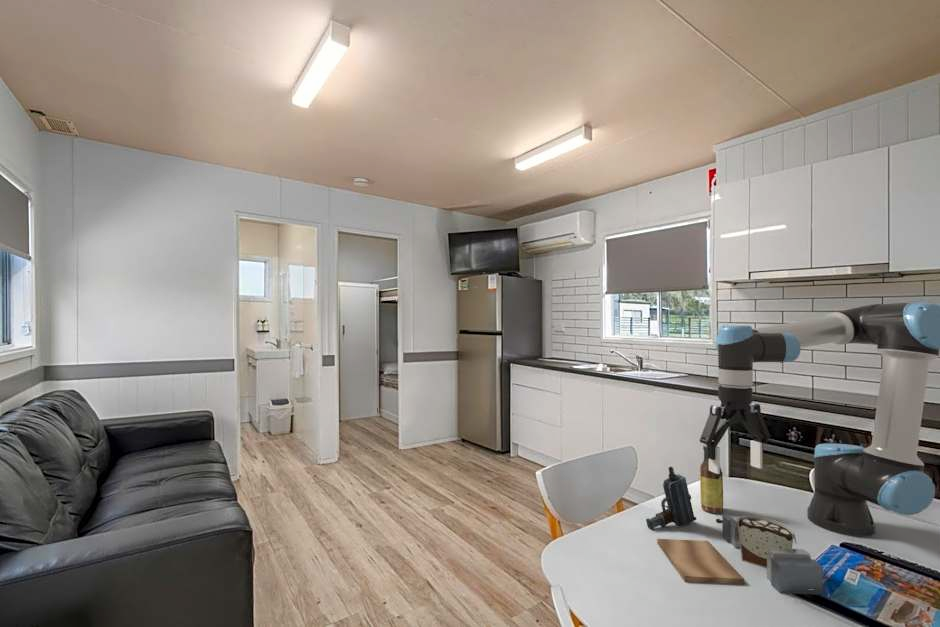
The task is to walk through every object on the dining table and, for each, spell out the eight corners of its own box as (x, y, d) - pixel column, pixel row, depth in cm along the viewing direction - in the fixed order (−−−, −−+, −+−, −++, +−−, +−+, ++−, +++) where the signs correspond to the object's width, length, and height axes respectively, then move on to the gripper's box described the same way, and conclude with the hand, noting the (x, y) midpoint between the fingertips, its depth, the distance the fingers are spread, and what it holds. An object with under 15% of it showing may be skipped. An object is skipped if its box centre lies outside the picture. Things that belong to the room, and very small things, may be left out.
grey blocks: (748, 531, 123) (748, 506, 123) (823, 594, 95) (823, 562, 95) (715, 530, 124) (714, 505, 124) (779, 592, 95) (779, 560, 95)
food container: (799, 567, 105) (799, 525, 105) (796, 578, 101) (796, 534, 101) (740, 549, 114) (740, 510, 114) (735, 558, 109) (735, 517, 109)
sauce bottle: (727, 514, 134) (727, 449, 134) (707, 514, 134) (707, 449, 134) (715, 505, 140) (715, 443, 141) (696, 505, 140) (696, 443, 141)
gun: (635, 479, 125) (677, 461, 129) (648, 534, 126) (690, 515, 130) (641, 482, 122) (684, 464, 126) (655, 539, 123) (697, 519, 127)
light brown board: (707, 545, 115) (707, 540, 115) (744, 584, 98) (744, 578, 98) (657, 543, 116) (657, 538, 116) (684, 581, 99) (684, 576, 99)
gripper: (759, 381, 119) (760, 460, 119) (684, 385, 112) (684, 469, 112) (786, 386, 112) (787, 469, 111) (707, 390, 105) (708, 479, 104)
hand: (735, 469), depth 112 cm, fingers open, 13 cm apart
